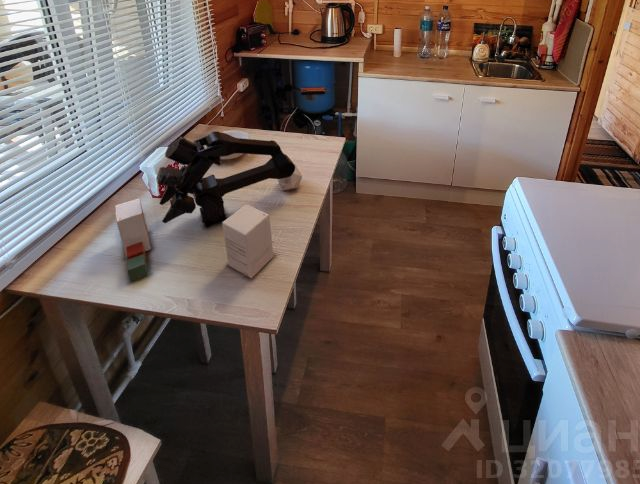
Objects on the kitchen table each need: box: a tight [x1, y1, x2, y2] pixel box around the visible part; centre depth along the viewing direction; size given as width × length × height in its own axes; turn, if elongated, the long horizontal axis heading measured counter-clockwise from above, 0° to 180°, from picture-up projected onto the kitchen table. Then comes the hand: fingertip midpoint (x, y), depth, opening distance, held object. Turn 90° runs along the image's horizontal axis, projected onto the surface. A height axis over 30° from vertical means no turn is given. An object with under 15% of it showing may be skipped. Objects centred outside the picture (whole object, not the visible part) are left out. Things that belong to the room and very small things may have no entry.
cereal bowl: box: [220, 129, 250, 160], centre depth 156 cm, size 17×17×7 cm
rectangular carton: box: [221, 203, 275, 279], centre depth 103 cm, size 9×9×15 cm
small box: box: [114, 198, 152, 259], centre depth 109 cm, size 8×6×13 cm
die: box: [276, 163, 303, 191], centre depth 136 cm, size 8×9×10 cm
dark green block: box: [126, 254, 149, 283], centre depth 101 cm, size 4×4×4 cm
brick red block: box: [126, 242, 147, 262], centre depth 105 cm, size 4×4×4 cm
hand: (162, 213), depth 112 cm, fingers open, 9 cm apart
